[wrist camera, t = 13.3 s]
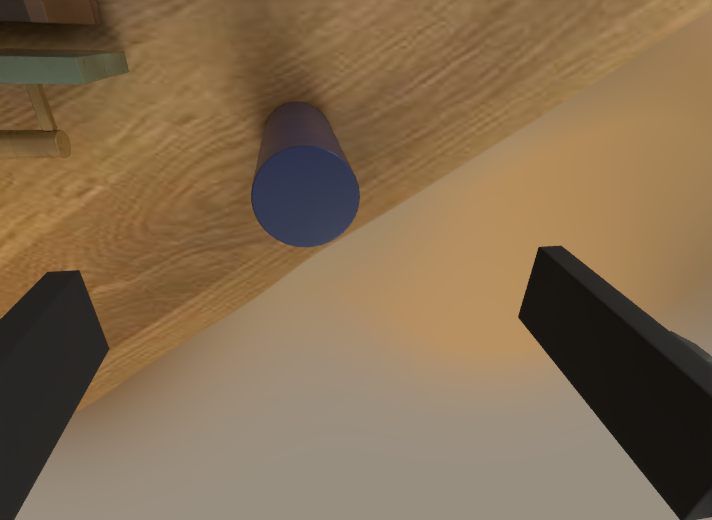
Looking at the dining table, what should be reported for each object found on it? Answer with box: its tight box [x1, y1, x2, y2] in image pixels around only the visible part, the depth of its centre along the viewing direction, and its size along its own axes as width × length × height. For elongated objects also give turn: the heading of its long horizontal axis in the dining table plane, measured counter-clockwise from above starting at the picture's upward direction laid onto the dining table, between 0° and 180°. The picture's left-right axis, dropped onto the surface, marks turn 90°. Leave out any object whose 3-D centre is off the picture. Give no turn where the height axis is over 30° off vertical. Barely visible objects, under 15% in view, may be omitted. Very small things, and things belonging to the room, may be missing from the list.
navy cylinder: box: [251, 102, 360, 247], centre depth 25 cm, size 5×5×13 cm
